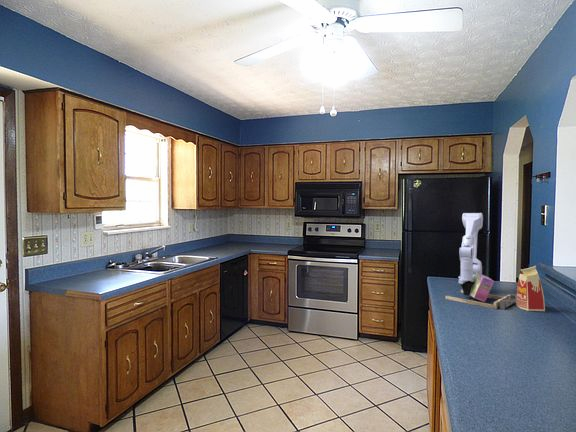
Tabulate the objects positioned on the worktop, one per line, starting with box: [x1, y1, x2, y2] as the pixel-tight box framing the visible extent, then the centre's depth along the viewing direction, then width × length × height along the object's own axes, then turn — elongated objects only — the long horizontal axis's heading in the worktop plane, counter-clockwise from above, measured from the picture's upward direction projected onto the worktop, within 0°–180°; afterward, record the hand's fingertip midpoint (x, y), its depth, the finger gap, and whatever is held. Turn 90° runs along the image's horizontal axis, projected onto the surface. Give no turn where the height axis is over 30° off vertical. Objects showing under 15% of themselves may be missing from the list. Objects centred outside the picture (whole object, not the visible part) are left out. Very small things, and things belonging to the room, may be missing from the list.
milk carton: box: [515, 265, 546, 312], centre depth 164 cm, size 9×9×20 cm
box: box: [469, 273, 495, 303], centre depth 179 cm, size 10×6×12 cm, turn 167°
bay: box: [445, 289, 517, 311], centre depth 178 cm, size 19×28×4 cm
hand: (466, 295), depth 183 cm, fingers closed
